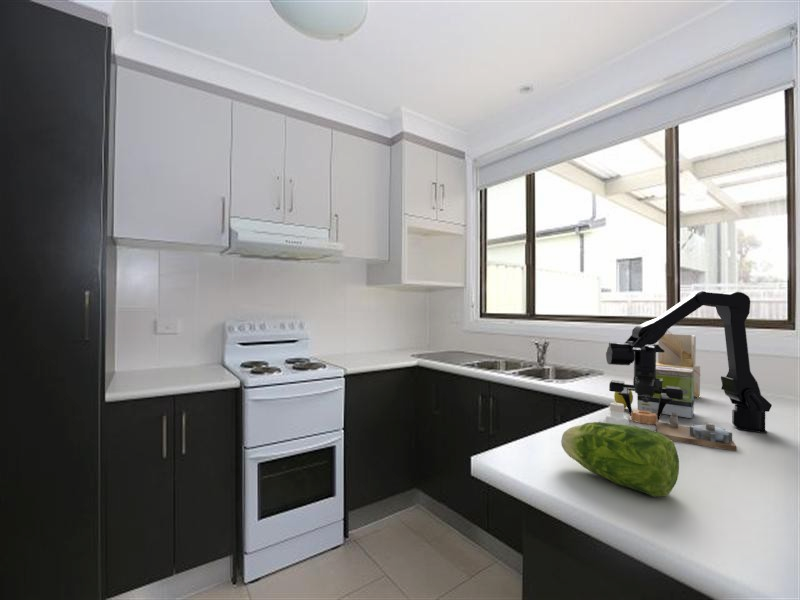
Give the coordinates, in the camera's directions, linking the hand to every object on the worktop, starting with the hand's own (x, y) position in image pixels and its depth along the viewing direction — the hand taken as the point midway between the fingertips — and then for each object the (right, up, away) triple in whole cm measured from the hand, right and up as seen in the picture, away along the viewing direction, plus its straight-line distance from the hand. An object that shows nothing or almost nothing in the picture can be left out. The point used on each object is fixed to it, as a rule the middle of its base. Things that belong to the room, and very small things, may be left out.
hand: (644, 417), depth 119 cm
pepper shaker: (-19, 0, -19) cm, 27 cm away
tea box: (+14, -2, +12) cm, 19 cm away
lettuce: (-33, 0, -43) cm, 54 cm away
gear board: (+4, -1, -15) cm, 15 cm away
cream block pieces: (+37, -3, +37) cm, 52 cm away
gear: (0, -1, 0) cm, 1 cm away
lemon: (+2, -2, +15) cm, 15 cm away
